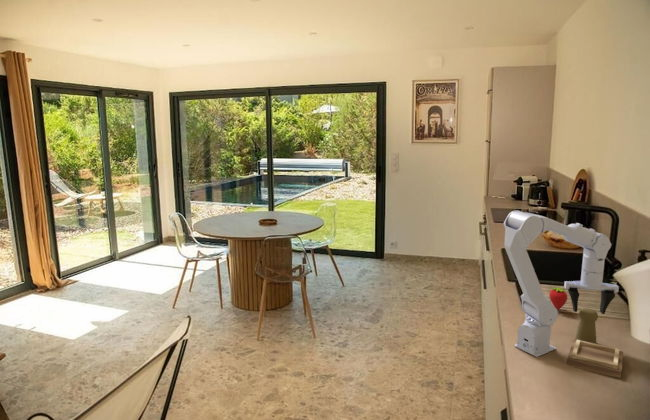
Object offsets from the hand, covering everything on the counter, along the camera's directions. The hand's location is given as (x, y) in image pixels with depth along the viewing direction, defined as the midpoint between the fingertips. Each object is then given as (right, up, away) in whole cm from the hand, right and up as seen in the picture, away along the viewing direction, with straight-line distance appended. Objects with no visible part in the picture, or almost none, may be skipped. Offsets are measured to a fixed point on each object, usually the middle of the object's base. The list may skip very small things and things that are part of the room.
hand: (588, 311), depth 138 cm
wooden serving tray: (-4, -12, -9) cm, 16 cm away
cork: (0, -10, +2) cm, 11 cm away
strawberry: (+4, -6, +27) cm, 28 cm away
